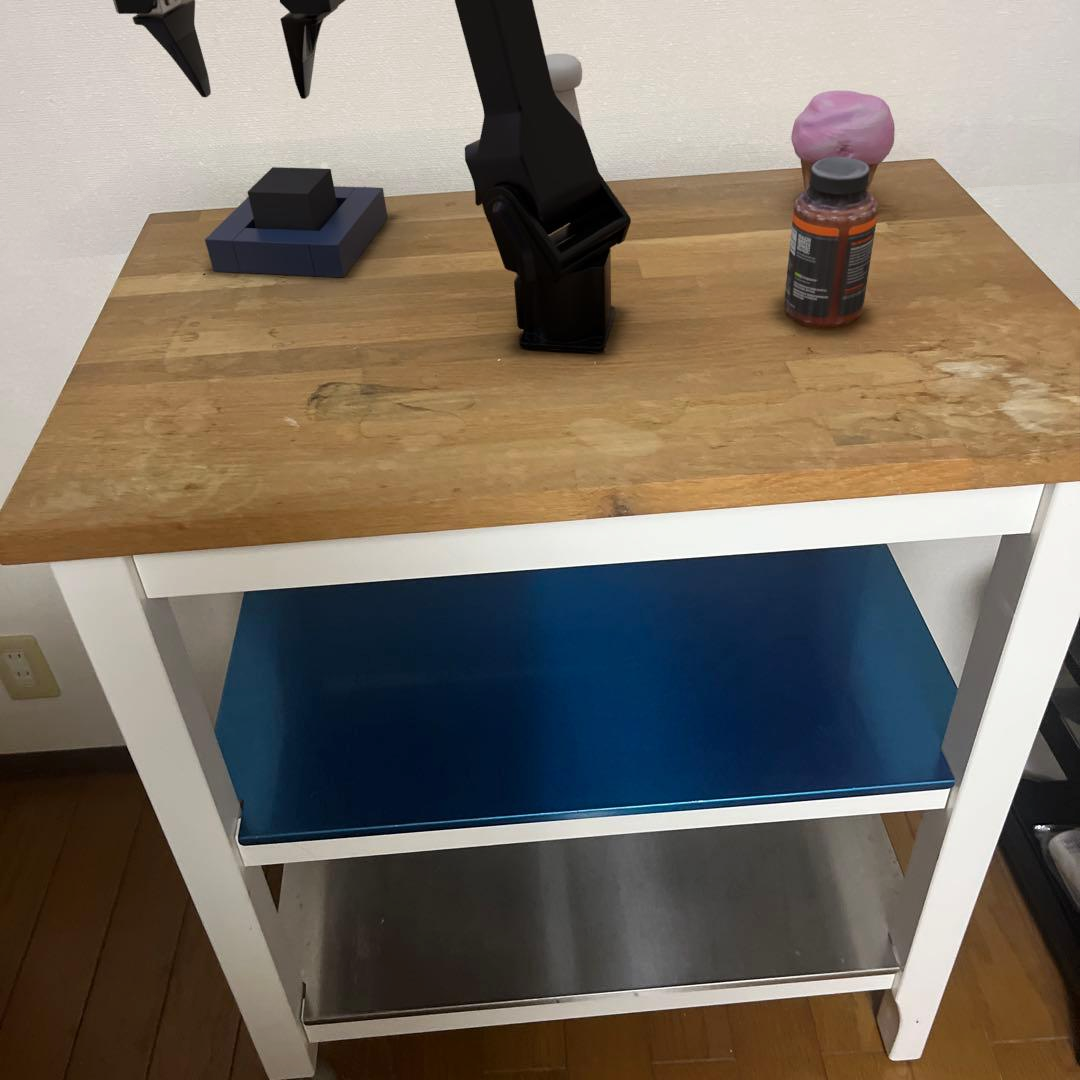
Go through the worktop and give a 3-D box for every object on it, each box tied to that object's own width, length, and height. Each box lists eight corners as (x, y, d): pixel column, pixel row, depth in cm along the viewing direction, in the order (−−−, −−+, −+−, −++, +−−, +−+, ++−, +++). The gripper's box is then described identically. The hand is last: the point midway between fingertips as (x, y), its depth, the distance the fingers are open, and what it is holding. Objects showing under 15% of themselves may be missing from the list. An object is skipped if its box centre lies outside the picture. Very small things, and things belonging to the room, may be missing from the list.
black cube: (342, 232, 95) (330, 168, 91) (321, 259, 91) (307, 193, 87) (286, 230, 96) (272, 166, 92) (262, 256, 92) (246, 191, 88)
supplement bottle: (869, 300, 80) (893, 156, 73) (852, 336, 76) (877, 187, 69) (793, 288, 82) (809, 147, 75) (773, 323, 78) (788, 177, 71)
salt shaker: (587, 216, 95) (583, 68, 87) (526, 214, 96) (517, 67, 88) (597, 191, 99) (594, 47, 91) (539, 189, 101) (531, 47, 92)
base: (387, 218, 97) (383, 187, 95) (343, 277, 88) (337, 244, 86) (268, 214, 100) (261, 183, 98) (213, 271, 91) (204, 239, 89)
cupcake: (780, 188, 98) (791, 77, 91) (874, 186, 97) (892, 74, 90) (789, 228, 91) (802, 112, 84) (890, 226, 90) (910, 109, 84)
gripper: (358, -136, 83) (387, 68, 93) (148, -130, 86) (198, 67, 96) (307, -111, 75) (345, 110, 85) (77, -105, 78) (140, 107, 88)
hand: (255, 96), depth 89 cm, fingers open, 9 cm apart
